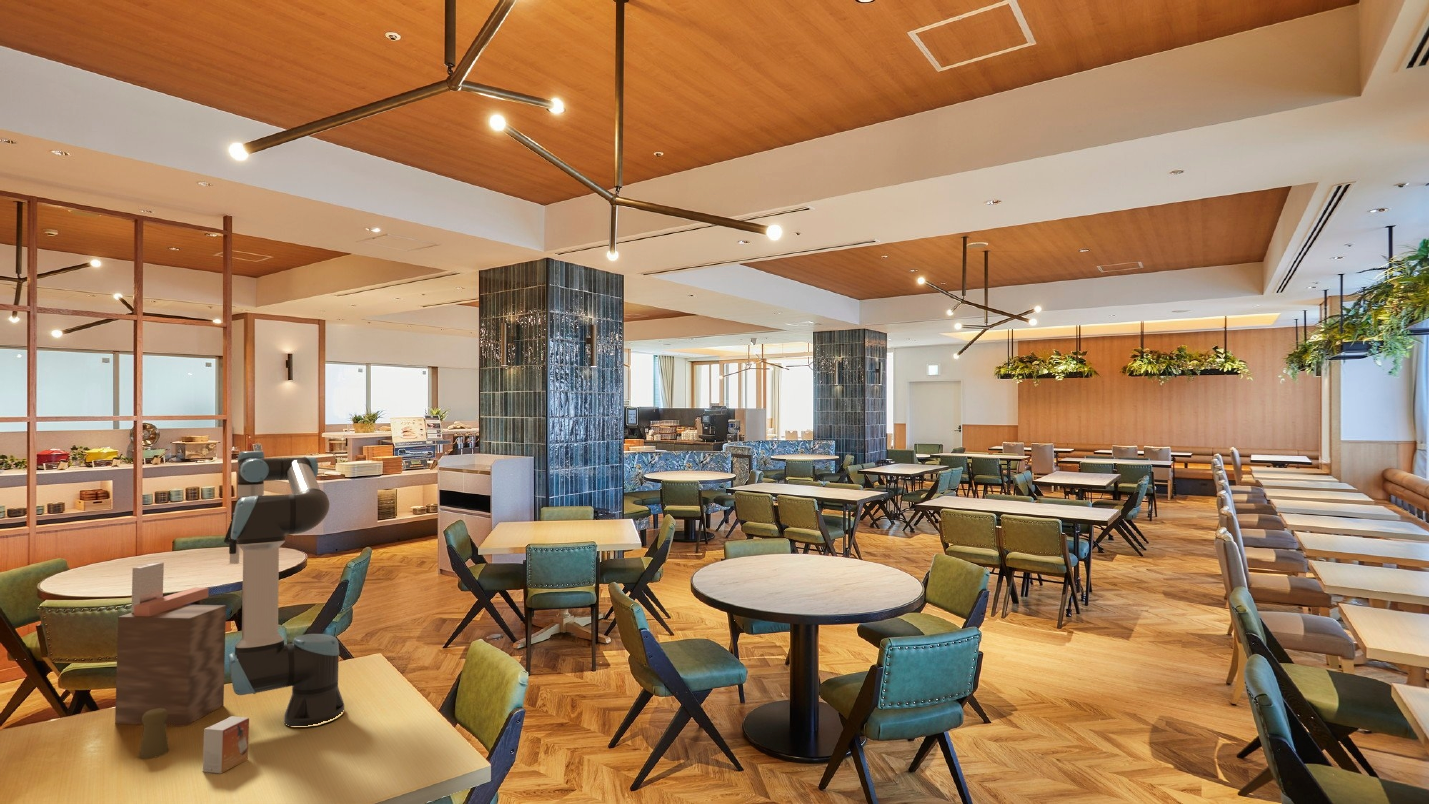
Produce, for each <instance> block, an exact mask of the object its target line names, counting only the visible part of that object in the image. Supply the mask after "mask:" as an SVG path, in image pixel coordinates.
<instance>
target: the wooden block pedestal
mask: <svg viewBox="0 0 1429 804" xmlns="http://www.w3.org/2000/svg"><path fill="white" fill-rule="evenodd" d="M226 621H227V605H225V604H223V605H221V604H219V605H218V604H186V605H183V606H180V607H177V608H174V609H170V610H167V611H164V612H161V613H158V614H155V615H152V616H134V613H131V612H129V613H126V614H123V615H120V616H118V618H117V641H116V642H117V643H116V644H117V645H116V646H117V647H116V648H117V650H116V679H115V682H116V683H115V708H114V709H115V710H114V711H115V713H114V714H115V715H114V724H115V725H143V726H145V725H144V724H143V722H142V717H143V715H144V714H145V713H146V712H147V711H149V710H152V709H157V708H163V709H166V711H167V713H168V716H167V719H166V720H165V726H185V727H187V726H188V724H189V725H191V724H192V723H194V722H197V721H198V720H199V719H201V717H202V718H204V717H205V716H208V715H209V714H211V713H213V712H215V711H216V710H215V709H217V710H218V709H220V708H221V707H220V706H222V707H224V706H223V705H224V704H225V703H224V702H225V701H224V699H225V698H224V697H225V693H224V692H225V668H226V666H225V665H226V661H225V660H226V654H225V653H226ZM219 707H220V708H219ZM214 710H215V711H214ZM212 711H213V712H212ZM210 712H211V713H210ZM203 716H204V717H203ZM197 719H198V720H197ZM193 721H194V722H193Z"/></svg>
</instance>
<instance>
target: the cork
mask: <svg viewBox="0 0 1429 804" xmlns="http://www.w3.org/2000/svg"><path fill="white" fill-rule="evenodd" d="M167 716H168V713H167V711H166V709H163V708H157V709H152V710H149V711H147V712H146V713H145V714H144V715H143V717H142V722H143V724H144V725H143V726H144V728H143V731H142V732H143V733H142V739H141V742H140V743H141V744H140V747H139V748H140V749H139V753H138V758H139V759H141V760H149V759H154V758H158V757H161V756H163V755H166V753H168V752H169V751H170V750H169V743H168V742H169V741H168V735H167V729H166V727H167V726H166V725H165V720H166V719H167Z"/></svg>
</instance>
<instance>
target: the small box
mask: <svg viewBox="0 0 1429 804" xmlns="http://www.w3.org/2000/svg"><path fill="white" fill-rule="evenodd" d="M249 731H250V717H242V716H233V715H230V716H229V717H228V718H225V719H223V720H221V721H219V722H217V723H214V724H212V725H210V726H207V727H206V728H204V729H203V751H202V752H203V753H202V772H203V773H211V774H213V773H215V774H223V773H225V772H227V771H228V770H231V769H232V768H234V767H236V766H239V764H241V763H243V761H244V762H245V761H248V759H249V734H250V733H249Z"/></svg>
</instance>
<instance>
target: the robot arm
mask: <svg viewBox="0 0 1429 804" xmlns="http://www.w3.org/2000/svg"><path fill="white" fill-rule="evenodd" d="M318 462H319V461H318V459H317V458H316V457H311V456H310V457H307V456H300V457H299V456H297V457H267V458H265V453H264V451H262V450H259V451H258V450H255V451H254V450H253V451H251V450H250V451H248V450H247V451H246V450H245V451H240V452H239V453H238V458H237V497H238V498H237V499H236V503H235V507H234V512H233V513H232V515H231V519H230V523H229V526H228V529H227V531H226V535H225V538H224V540H223V543H224V544H226V545H229V547H228V548H229V549H228V552H229V564H230V565H232V564H233V565H235V564H236V565H238V564H240V550H242V602H241V603H242V607H241V610H242V611H241V613H242V614H241V639H240V640H238V642H237V643H236V644H235V645H234V652H233V651H232V652H231V653H229V654H228V665H229V671H230V678H231V683H232V689H233V692H234V694H235V695H237V696H245V695H256V694H257V693H262V692H263V693H264V692H268V691H274V690H278V689H284V688H289V687H291V696H290V698H289V702H288V705H287V707H286V709H285V713H284V718H283V719H284V720H283V721H284V722H285V723H284V722H283V723H284V725H285V724H287V725H289V726H308V725H313V724H318V723H321V722H323V721H328V720H330V719H333V718H335V717H336V716H338V715H339V714H341V712H343V710H344V711H345V703H344V700H343V697H342V694H341V691H340V688H339V662H340V661H339V659H340V657H339V655H340V649H339V648H340V646H339V640H338V639H337V637H335V636H332V635H331V634H325V633H308V634H307V633H306V634H301V635H297V636H295V637H294V638H293V640H292V643H287V644H285V637H283V636H282V635H281V634H279V585H280V584H279V579H280V578H279V577H280V576H279V575H280V573H279V572H280V567H279V566H280V565H279V564H280V562H279V561H280V559H279V558H280V547H281V546H282V545H284V543H285V542H286V536H287V535H297V534H302V533H306V532H308V531H310V530H313V529H314V528H315V527H317V526H318V525H319V524H321V523H322V522H323V520H324V519H325V518H326V517H327V515H328V513H329V510H330V500H329V498H328V495H327V494H326V492H325V491H323V490H322V489H321V487H320V485H319V483H318V481H317V479H316V478H317V477H318V475H319V474H318V472H319V463H318ZM269 481H270V482H271V481H287V482H288V484H289V486H290V490H291V493H292V494H270V495H269V494H268V495H267V494H266V495H265V483H264V482H269Z"/></svg>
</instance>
